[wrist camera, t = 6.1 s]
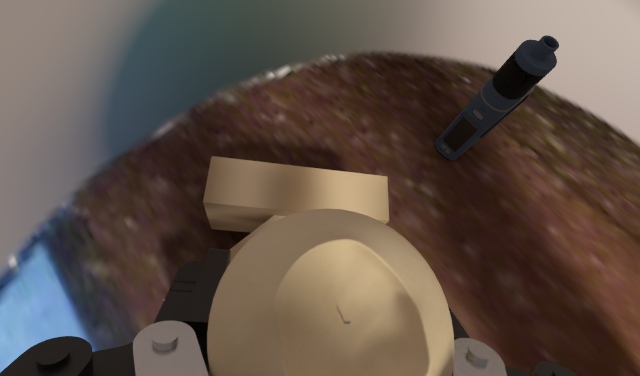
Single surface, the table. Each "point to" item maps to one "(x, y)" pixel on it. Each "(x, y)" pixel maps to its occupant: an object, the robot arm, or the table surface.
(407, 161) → the table surface
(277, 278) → the candle
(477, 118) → the vaping device
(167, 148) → the table surface
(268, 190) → the letter k block
